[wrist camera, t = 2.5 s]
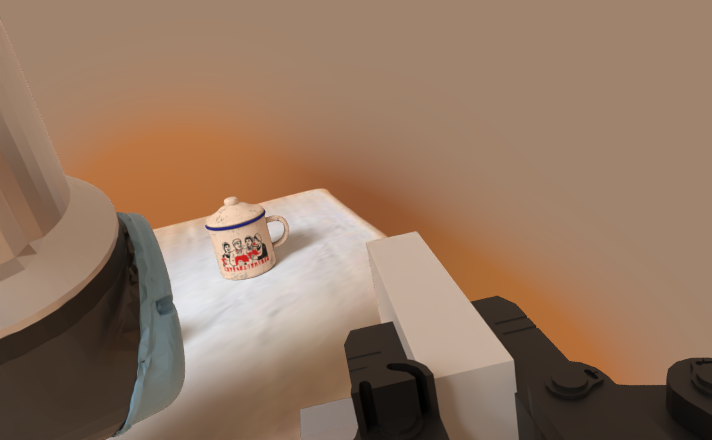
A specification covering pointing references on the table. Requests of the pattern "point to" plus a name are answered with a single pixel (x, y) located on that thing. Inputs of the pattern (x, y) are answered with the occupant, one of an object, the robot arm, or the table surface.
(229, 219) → the teacup with lid
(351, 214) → the table surface
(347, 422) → the ceramic tile
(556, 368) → the robot arm
